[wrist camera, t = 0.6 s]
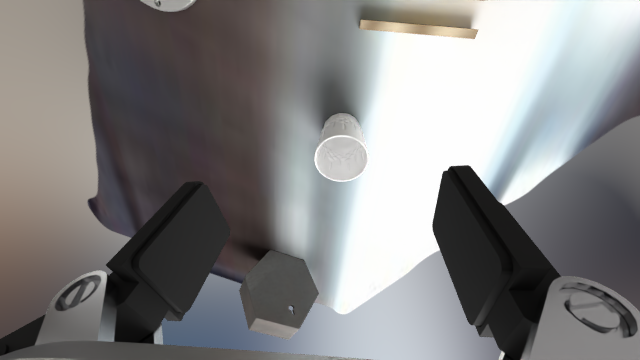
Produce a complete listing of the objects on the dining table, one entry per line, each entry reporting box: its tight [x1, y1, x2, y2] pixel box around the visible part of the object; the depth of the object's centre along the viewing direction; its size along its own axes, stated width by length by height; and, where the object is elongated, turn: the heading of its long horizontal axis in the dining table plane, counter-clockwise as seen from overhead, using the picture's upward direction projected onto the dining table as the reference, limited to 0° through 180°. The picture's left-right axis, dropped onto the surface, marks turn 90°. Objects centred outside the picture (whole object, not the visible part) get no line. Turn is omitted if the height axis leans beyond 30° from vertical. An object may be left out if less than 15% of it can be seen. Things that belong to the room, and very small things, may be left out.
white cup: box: [314, 113, 369, 181], centre depth 37 cm, size 8×8×10 cm
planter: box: [239, 250, 319, 340], centre depth 60 cm, size 17×8×21 cm
